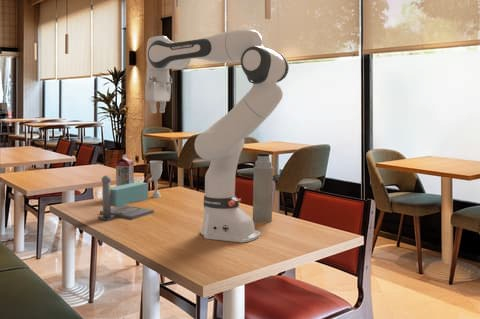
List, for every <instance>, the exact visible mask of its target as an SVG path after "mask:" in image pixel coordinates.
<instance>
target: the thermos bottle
mask: <svg viewBox="0 0 480 319" xmlns="http://www.w3.org/2000/svg"><path fill="white" fill-rule="evenodd" d="M254 165H255V166H253V180H252V181H253V183H252V184H253V188H252V190H253V192H252V200H253V201H252V219H253V222H256V223H270V222H272V220H273V190H274V189H273V188H274V186H273V185H274V183H273V182H274V167H273V166H272V165H273V163H272V161H271V160H270V153H267V152H259V153H257V160H255V164H254Z"/></svg>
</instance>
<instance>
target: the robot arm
mask: <svg viewBox="0 0 480 319" xmlns="http://www.w3.org/2000/svg"><path fill="white" fill-rule="evenodd" d="M193 59H194V60H195V59H198V60H203V61H208V62H209V61H210V62H213V63H214V62H215V63H223V64H230V63H231V64H233V63H238V62H240V66H241V69H242V71H243V72H244V74H245V76H246V78H247V81H248V82H249V83H250V84H252V86H251V88H250V89H249V91H248V92H247V93H246V94H244V95H243V97H242V98H241V99H240V100H239V101H237V103H236V104H235V106H233V108H232V109H230V111H228V112H227V113H226V114H225V115H224V116H222V117H221V118H219V120H216V121H215V122H214V123H213V124H212V125H211V126H210V127H208V128H207V129H206V130H205V131H203V132H201V133H199V134H198V135H197V136H196V138H195V140H194V150H195V153H196V154H197V155H198V157H200V158H201V159H202V160H207V161H210V163H209V166H208V167H209V168H208V169H207V170H206V172H205V176H204V195H203V209H204V211H203V220H202V224H201V229H200V232H199V233H200V234H201V235H202V236H203V238H204V239H206V240H215V241H226V242H234V243H248V242H251V241H254V240H257V239H258V238H260V237H261V232H260V230H256V229H255V223H254V222H255V221H253V217H252V216H251V215H249V214H248V213H247V212H246V211H245V210H244V209H242V207H241V206H240V204H239V203H241V201H242V198H238V197H237V196H236V194H235V193H236V173H237V168H238V165H239V164H238V163H239V159H240V155H241V153H242V150H243V149H244V147H245V139H246V138H247V137H249V136H250V135H252V134H253V133H254V131H256V130H257V129H258V128H259V127H260V126H261V124H263V123H264V121H265V120H267V119H268V117H270V115H271V114H272V113H273V112H275V109H276V108H277V107H278V105H279V104H280V102H281V100H282V99H283V94H284V93H283V91H282V88H281V86H280V84H279V82H281V81H283V80H284V79H285V78H286V77H287V75H288V73H289V69H290V68H289V66H290V65H289V62H288V61H287V59H286V58H285V57H284V56H283V55H282V54H280V53H279V52H277V51H275V50H273V49H270V48H268V47H264V41H263V38H262V35H261V34H260V33H259V31H257V30H255V29H235V30H228V31H224V32H220V33H217V34H213V35H210V36H206V37H205V36H204V37H202V38H201V37H200V38H198V39H192V40H191V39H190V40H186V41H185V40H184V41H178V42H175V41H173V40H170V39H169V38H168V36H165V35H153V36H151V37H150V38H149V39H147V44H146V64H147V67H146V82H145V88H144V100H145V102H149V106H150V109H151V110H150V113H151V114H157V112H158V111H159V113H160V114H164V113H165V111H166V110H165V109H166V106H167V102H170V101H171V94H172V83H173V78H172V76H171V75H170V69H171V70H183V69H185V68H188V67H187V66H189V64H190V61H191V60H193ZM157 102H159V104H160V105H159V106H160V107H159V108H157ZM158 109H159V110H158Z"/></svg>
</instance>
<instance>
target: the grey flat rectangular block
mask: <svg viewBox="0 0 480 319" xmlns="http://www.w3.org/2000/svg"><path fill="white" fill-rule="evenodd" d="M154 211H155V210H154V209H148V208H143V207H137V206H131V205H126V204H125V205H122V206H118V207H114V206H112V207H111V215H115V216H116V218H122V219H129V220H135V219H137V218H141V217H144V216H148V215H150V214H151V215H152V214H154V213H155V212H154ZM99 215H103V209H102V210H100V211H99Z"/></svg>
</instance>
